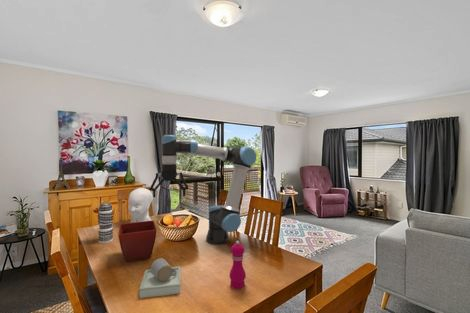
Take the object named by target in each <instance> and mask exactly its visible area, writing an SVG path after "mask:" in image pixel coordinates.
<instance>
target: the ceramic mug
mask: <svg viewBox="0 0 470 313" xmlns="http://www.w3.org/2000/svg"><path fill="white" fill-rule="evenodd" d="M171 267H172V266H171V265H170V263H168V261H167V260H166V259H165V258H162V257H160V258H157V259H155V260H154V261H153V262H152V264H151V265H150V269H151V273H152V274H153V275H154V276H155V277H156V278H157V280H159V281H161V282H164V281H167V280H168V279H169V278H170V277H171V276H176V274H177V271H176V270H175V269H173V268H171Z"/></svg>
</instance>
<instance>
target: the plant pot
mask: <svg viewBox="0 0 470 313" xmlns="http://www.w3.org/2000/svg"><path fill="white" fill-rule="evenodd" d="M117 233H118V240H119V245H120V250H121V253H122V256H123V259H124V260H125V261H124V262H126V263H129V262H134V261H135V262H136V261H140V260H147V259H151V257H152V254H153V250H154V247H155V244H156V243H155V242H156V238H157V227H156V223H155V220H152V221H144V222H135V223H130V222H127V223H120V224H119V227H118V232H117Z"/></svg>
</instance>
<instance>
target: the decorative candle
mask: <svg viewBox="0 0 470 313" xmlns="http://www.w3.org/2000/svg"><path fill="white" fill-rule="evenodd" d="M113 215H114V210H113V204H111V202H103V203H102V202H101V203H100V204H99V205H98V214H97V219H98V221H97V222H98V224H97V225H98V227H99V228H98V239H97V240H98V243H99V244H107V243H111V242H112V241H113V240H114V238H113V237H114V234H113V233H114V232H113V230H114V229H113V223H114V222H113V220H114V216H113Z"/></svg>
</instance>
